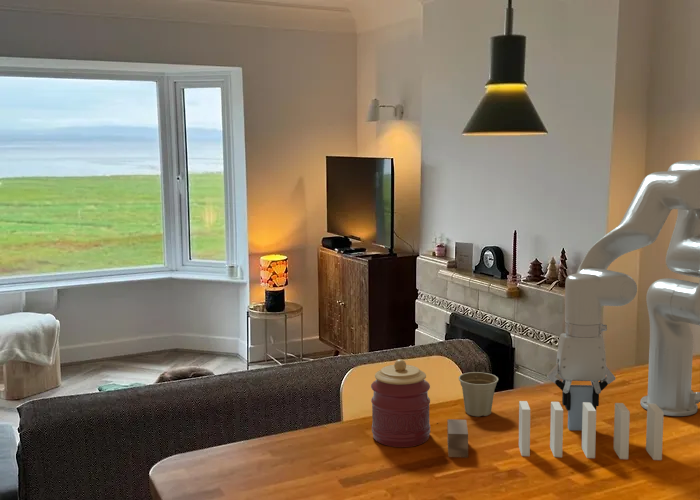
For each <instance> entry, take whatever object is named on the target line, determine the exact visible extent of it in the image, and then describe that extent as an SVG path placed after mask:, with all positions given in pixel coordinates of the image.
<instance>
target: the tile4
mask: <svg viewBox="0 0 700 500" xmlns="http://www.w3.org/2000/svg"><path fill="white" fill-rule="evenodd" d="M549 426H550V429H549V430H550V433H549V434H550V436H549V448H550V450H551V452H552V455H553V457H554V458H563V444H564V443H563V436H564V432H563V431H564V409H563V407H562V405H561V402H559V401H551V402H550V425H549Z"/></svg>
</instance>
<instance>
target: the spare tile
mask: <svg viewBox="0 0 700 500" xmlns="http://www.w3.org/2000/svg"><path fill="white" fill-rule="evenodd" d="M569 392H570V393H571V410H570V411H567V429H568V431H582V412H583V402H591V404H592V395H593V387H592V384H591V385H590V384H571V385H570V388H569Z"/></svg>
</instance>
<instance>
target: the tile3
mask: <svg viewBox="0 0 700 500" xmlns="http://www.w3.org/2000/svg"><path fill="white" fill-rule="evenodd" d="M596 429H597V409H596V410H595V408H594V407H593V405H592V404H591V402H583V412H582V430H581V449H582V451H583V453H584V455H585V457H586V459H596V436H597V435H596V432H597V430H596Z"/></svg>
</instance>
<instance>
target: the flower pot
mask: <svg viewBox="0 0 700 500" xmlns="http://www.w3.org/2000/svg"><path fill="white" fill-rule="evenodd" d="M458 381H459V382H460V386H461V390H462V397H463V405H464V412H465V413H466V414H467V415H469V416H472V417H482V416H484V417H487V416H489V415H491V414H492V409H493V402H494V401H493V400H494V395H495V389H496V386H497V383H499V377H498V376H496V375H495V374H492V373H487V372H481V371H479V372H478V371H473V372H472V371H471V372H465V373H462V374H460V375H459V376H458Z"/></svg>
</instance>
